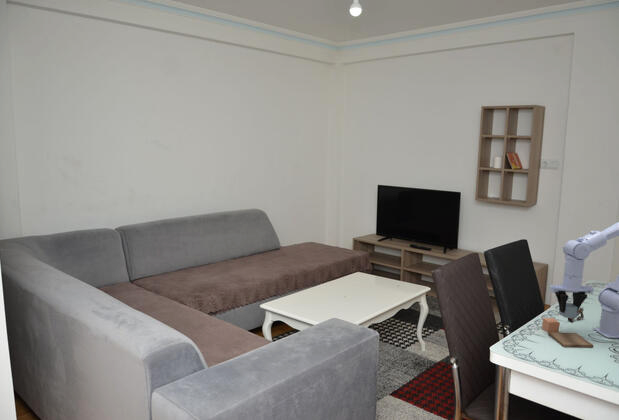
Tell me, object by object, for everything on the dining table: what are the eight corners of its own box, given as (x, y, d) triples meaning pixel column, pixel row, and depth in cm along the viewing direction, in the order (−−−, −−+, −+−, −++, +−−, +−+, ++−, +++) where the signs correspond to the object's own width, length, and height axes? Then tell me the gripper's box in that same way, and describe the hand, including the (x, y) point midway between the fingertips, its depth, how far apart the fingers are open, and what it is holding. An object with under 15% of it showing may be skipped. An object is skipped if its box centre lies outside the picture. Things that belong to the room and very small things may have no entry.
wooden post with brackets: (586, 317, 182) (585, 307, 181) (573, 328, 179) (572, 318, 178) (582, 315, 184) (580, 305, 183) (569, 326, 181) (567, 316, 180)
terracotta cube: (552, 328, 172) (553, 318, 171) (558, 333, 168) (559, 322, 168) (541, 328, 172) (543, 318, 171) (547, 332, 168) (548, 322, 167)
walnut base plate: (575, 335, 166) (575, 332, 166) (593, 347, 156) (593, 345, 156) (547, 334, 166) (548, 332, 166) (563, 347, 156) (564, 344, 156)
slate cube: (569, 313, 168) (571, 303, 167) (576, 318, 164) (577, 307, 163) (558, 313, 168) (560, 302, 167) (564, 317, 164) (566, 306, 163)
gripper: (586, 272, 168) (582, 308, 170) (546, 270, 167) (542, 307, 169) (599, 278, 161) (594, 315, 163) (557, 276, 160) (552, 314, 162)
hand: (568, 311), depth 166 cm, fingers closed on slate cube, 4 cm apart
